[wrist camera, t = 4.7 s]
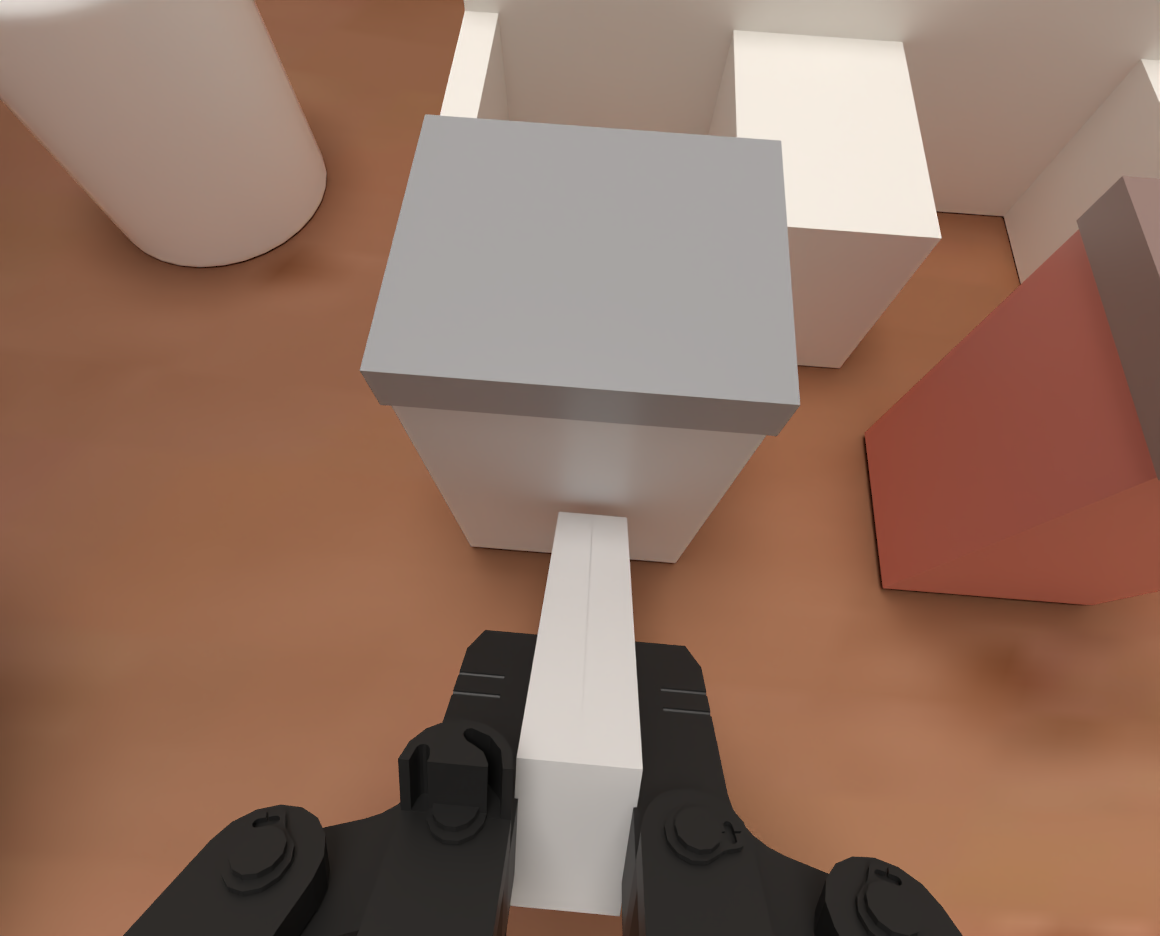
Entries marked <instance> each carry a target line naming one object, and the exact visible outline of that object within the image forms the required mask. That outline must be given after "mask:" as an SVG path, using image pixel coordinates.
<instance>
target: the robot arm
mask: <svg viewBox="0 0 1160 936" xmlns="http://www.w3.org/2000/svg"><path fill="white" fill-rule="evenodd" d="M398 765H399V783H400V803H399V804H398V805H396V806H394V807H393V808H391V809H389V810H387V811H385V812H383V813H381V814H378V815H375V816H372V817H369V818H366V819H362V820H357V821H353V822H348V823H343V824H339V825H334V826H329V827H325V828H322V826H321V824H320V822H319V819H318V818H317V817H316V816H314V815H313V814H311V813H310V812H308V811H307V810H305V809H304V808H302V807H295V806H287V805H277V806H272V807H267V808H262V809H257V810H255V811H253V812H251V813H249V814H247V815H245V816H243V817H241V818H239V819H237V820H235V821H233V822H232V823H230V824H229V825H228V826H227V827H226V828H224V829H223V830H222V831H221V832H220V833H219V834H217V835H216V836H215V837H214V838H213V839H212V840H210V841H209V843H208V844H207V845H206V846H205V847H204V848H203V849H202V850H201V851H200V852H199V853H198V855H197V856H196V857H195V858H194V859H193V860H192V861H191V862H190V863H189V864H188V865H187V867H186V868H185V869H184V870H183V871H182V872H181V873H180V874H179V875H178V876H177V877H176V878H175V880H174V881H173V882H172V883H171V884H170V885H169V886H168V887H167V888H166V889H165V890H164V892H163V893H162V894H161V895H160V896H159V897H158V898H157V899H156V900H155V901H154V902H153V904H152V905H151V906H150V907H149V908H148V909H147V910H146V911H145V912H144V913H143V914H142V916H141V917H140V918H139V919H138V920H137V921H136V922H135V923H134V924H133V925H132V926H131V928H130V929H129V930H128V931H127V932H126V933H125V934H124V935H123V936H506V929H507V922H508V915H509V908H510V906H518V907H529V908H539V909H550V910H560V911H571V912H581V913H591V914H602V915H612V916H620V911H621V905H622V929H623V936H962V934H961V933H960V931H959V930H958V929H957V927H956V926H955V924H954V923H953V921H952V920H951V919H950V917H949V916H948V914H947V913H946V912H945V910H944V909H943V907H942V906H941V905H940V904H939V903H938V902H937V900H936V899H935V898H934V897H933V896H932V895H931V894H930V893H929V891H928V890H927V889H926V888H925V887H924V886H923V885H922V884H921V883H920V882H918V881H917V880H915V879H914V878H913V877H911V876H910V875H908V874H907V873H906V872H904V871H903V870H901V869H900V868H899V867H896V866H894V865H891V864H889V863H886V862H884V861H881V860H879V859H876V858H869V857H850V858H848V859H846V860H843V861H841V862H839V863H836V864H835V866H834V867H833V869H832V870H831V872H830V874H828V873H825V872H823V871H820V870H818V869H815V868H813V867H810V866H808V865H806V864H803V863H801V862H798V861H796V860H793V859H791V858H788V857H786V856H784V855H782V854H780V853H778V852H776V851H774V850H773V849H771V848H769V847H767V846H766V845H765V844H763V843H762V842H761V841H760V840H758V839H757V838H756V837H754V836H753V835H752V834H751V833H750V832H749V830H748V829H747V828H746V827H745V825H744V822H743V821H742V820H741V819H740V818H739V817H738V815H737V814H736V813H735V812H734V810H733V808H732V806H731V803H730V800H729V797H728V794H727V789H726V784H725V779H724V775H723V770H722V765H721V760H720V756H719V751H718V746H717V741H716V736H715V732H714V727H713V722H712V717H711V716H710V708H709V703H708V698H707V696H706V689H705V684H704V679H703V674H702V669H701V667H700V665H699V664H698V663H697V661H696V660H695V659H694V657H693V656H692V655H691V653H690V652H689V651H688V649H687V648H686V647H685V646H678V645H667V644H656V643H645V642H635V638H634V622H633V606H632V590H631V574H630V558H629V543H628V527H627V518H626V517H614V516H603V515H592V514H580V513H569V512H559V514H558V520H557V526H556V531H555V537H554V543H553V549H552V555H551V560H550V566H549V572H548V578H547V584H546V590H545V595H544V601H543V607H542V613H541V619H540V624H539V630H538V635H534V634H523V633H512V632H501V631H490V630H485V631H484V632H483V633H482V634H481V635H480V636H479V637H478V638H477V639H476V640H475V641H474V642H473V643H472V644H471V645H470V646H469V647H468V648H467V651H466V654H465V657H464V660H463V663H462V666H461V669H460V674H459V675H458V678H457V681H456V684H455V687H454V690H453V695H452V696H451V699H450V702H449V705H448V708H447V711H446V714H445V717H444V720H443V723H440V724H437V725H435V726H432V727H429V728H426V729H425V730H424V731H423V732H421V733H420V734H419V735H417V736H416V737H415V738H413V739H412V740H411V741H409V743H408V744H407V746H406V748H405V749H404V751H403V752H402V754H401V755H400V757H399V758H398Z"/></svg>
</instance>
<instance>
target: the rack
mask: <svg viewBox="0 0 1160 936" xmlns="http://www.w3.org/2000/svg"><path fill="white" fill-rule="evenodd" d="M464 6H465V14H464V18H463V22H462V26H461V30H460V34H459V39H458V43H457V47H456V51H455V55H454V59H453V63H452V68H451V72H450V76H449V80H448V84H447V88H446V92H445V97H444V101H443V105H442V109H441V113H440V116H452V117H466V118H480V119H493V120H507V121H520V122H534V123H548V124H561V125H575V126H589V127H602V128H616V129H630V130H643V131H657V132H670V133H684V134H698V135H711V136H725V137H739V138H752V139H766V140H780V141H781V145H782V159H783V173H784V187H785V201H786V215H787V229H788V243H789V257H790V271H791V285H792V298H793V312H794V326H795V340H796V354H797V365H804V366H816V367H829V368H840V367H841V366H842V365H843V363H844V362H845V361H846V359H847V358H848V357H849V356H850V354H851V353H852V352H853V350H854V349H855V348H856V347H857V345H858V344H859V343H860V342H861V340H862V339H863V338H864V336H865V335H866V334H867V333H868V331H869V330H870V329H871V328H872V326H873V325H874V324H875V322H876V321H877V320H878V319H879V317H880V316H881V315H882V314H883V312H884V311H885V310H886V308H887V307H888V306H889V305H890V303H891V302H892V301H893V299H894V298H895V297H896V296H897V294H898V293H899V292H900V291H901V289H902V288H903V287H904V285H905V284H906V283H907V282H908V280H909V279H910V278H911V277H912V275H913V274H914V273H915V271H916V270H917V269H918V268H919V266H920V265H921V264H922V262H923V261H924V260H925V259H926V257H927V256H928V255H929V254H930V252H931V251H932V250H933V248H934V247H935V246H936V245H937V243H938V242H939V241H940V240H941V233H940V228H939V223H938V218H937V213H936V211H939V212H952V213H966V214H979V215H993V216H1004V220H1005V224H1006V228H1007V232H1008V235H1009V239H1010V243H1011V247H1012V251H1013V255H1014V259H1015V263H1016V267H1017V271H1018V275H1019V279H1020V283H1021V284H1022V283H1023V282H1024V281H1025V280H1026V279H1027V278H1028V277H1029V276H1030V275H1031V274H1032V273H1033V272H1034V271H1035V270H1036V269H1037V268H1039V267H1040V266H1041V265H1042V264H1043V263H1044V262H1045V261H1046V260H1047V259H1048V258H1049V257H1050V256H1051V255H1052V254H1053V253H1054V252H1055V251H1056V250H1057V249H1059V248H1060V247H1061V246H1062V245H1063V244H1064V243H1065V242H1066V241H1067V240H1068V239H1069V238H1070V237H1071V236H1072V235H1073V234H1074V233H1075V232H1076V231H1077V230H1078V229H1079V228H1078V224H1077V221H1076V220H1077V219H1079V218H1080V217H1081V216H1082V215H1083V214H1084V213H1085V212H1086V211H1087V210H1088V209H1089V208H1090V207H1091V206H1092V205H1093V204H1094V203H1095V202H1096V201H1097V200H1098V199H1099V198H1100V197H1101V196H1102V195H1103V194H1104V193H1105V192H1106V191H1107V190H1108V189H1109V188H1110V187H1111V186H1112V185H1113V184H1115V183H1116V182H1117V181H1118V180H1119V179H1120V178H1121V177H1122V176H1132V177H1146V178H1159V179H1160V0H464Z"/></svg>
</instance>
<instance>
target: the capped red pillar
mask: <svg viewBox="0 0 1160 936" xmlns="http://www.w3.org/2000/svg"><path fill="white" fill-rule="evenodd" d="M1076 221H1077V224H1078V228H1079V229H1078V230H1077V231H1076V232H1075V233H1074V234H1073V235H1072V236H1071V237H1070V238H1069V239H1068V240H1067V241H1066V242H1065V243H1064V244H1063V245H1062V246H1061V247H1060V248H1059V249H1057V250H1056V251H1055V252H1054V253H1053V254H1052V255H1051V256H1050V257H1049V258H1048V259H1047V260H1046V261H1045V262H1044V263H1043V264H1042V265H1041V266H1040V267H1039V268H1037V269H1036V270H1035V271H1034V272H1033V273H1032V274H1031V275H1030V276H1029V277H1028V278H1027V279H1026V280H1025V281H1024V282H1023V283H1022V284H1021V285H1020V286H1019V287H1017V288H1016V289H1015V290H1014V291H1013V292H1012V293H1011V294H1010V295H1009V296H1008V297H1007V298H1006V299H1005V300H1004V301H1003V302H1002V303H1001V304H1000V305H999V306H998V307H996V308H995V309H994V310H993V311H992V312H991V313H990V314H989V315H988V316H987V317H986V318H985V319H984V320H983V321H982V322H981V323H980V324H979V325H978V326H976V327H975V328H974V329H973V330H972V331H971V332H970V333H969V334H968V335H967V336H966V337H965V338H964V339H963V340H962V341H961V342H960V343H959V344H958V345H957V346H955V347H954V348H953V349H952V350H951V351H950V352H949V353H948V354H947V355H946V356H945V357H944V358H943V359H942V360H941V361H940V362H939V363H938V364H937V365H935V366H934V367H933V368H932V369H931V370H930V371H929V372H928V373H927V374H926V375H925V376H924V377H923V378H922V379H921V380H920V381H919V382H918V383H917V384H916V385H914V386H913V387H912V388H911V389H910V390H909V391H908V392H907V393H906V394H905V395H904V396H903V397H902V398H901V399H900V400H899V401H898V402H897V403H896V404H894V405H893V406H892V407H891V408H890V409H889V410H888V411H887V412H886V413H885V414H884V415H883V416H882V417H881V418H880V419H879V420H878V421H877V422H876V423H874V424H873V425H872V426H871V427H870V428H869V429H868V430H867V431H866V432H865V440H866V449H867V457H868V466H869V474H870V483H871V492H872V500H873V509H874V517H875V526H876V535H877V543H878V552H879V560H880V569H881V578H882V586H883V588H887V589H899V590H911V591H923V592H936V593H948V594H960V595H972V596H985V597H997V598H1009V599H1021V600H1034V601H1046V602H1058V603H1070V604H1083V605H1095V604H1100V603H1105V602H1109V601H1114V600H1119V599H1124V598H1128V597H1133V596H1138V595H1143V594H1147V593H1152V592H1157V591H1160V179H1159V178H1146V177H1132V176H1122V177H1121V178H1120V179H1119V180H1118V181H1117V182H1116V183H1115V184H1113V185H1112V186H1111V187H1110V188H1109V189H1108V190H1107V191H1106V192H1105V193H1104V194H1103V195H1102V196H1101V197H1100V198H1099V199H1098V200H1097V201H1096V202H1095V203H1094V204H1093V205H1092V206H1091V207H1090V208H1089V209H1088V210H1087V211H1086V212H1085V213H1084V214H1083V215H1082V216H1081V217H1080V218H1079V219H1077V220H1076Z"/></svg>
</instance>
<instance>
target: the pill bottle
mask: <svg viewBox="0 0 1160 936" xmlns="http://www.w3.org/2000/svg"><path fill="white" fill-rule="evenodd" d="M0 100H1V101H2V102H3V103H4V104H5V105H6V106H7V107H8V108H9V109H10V111H11V112H12V113H13V114H14V115H15V116H16V117H17V118H18V119H19V120H20V121H21V123H22V124H23V125H24V126H25V127H26V128H27V129H28V130H29V131H30V132H31V133H32V134H33V136H34V137H35V138H36V139H37V140H38V141H39V142H40V143H41V144H42V145H43V146H44V148H45V149H46V150H47V151H48V152H49V153H50V154H51V155H52V156H53V157H54V158H55V160H56V161H57V162H58V163H59V164H60V165H61V166H62V167H63V168H64V169H65V170H66V171H67V173H68V174H69V175H70V176H71V177H72V178H73V179H74V180H75V181H76V182H77V183H78V185H79V186H80V187H81V188H82V189H83V190H84V191H85V192H86V193H87V194H88V195H89V197H90V198H91V199H92V200H93V201H94V202H95V203H96V204H97V205H98V206H99V207H100V209H101V210H102V211H103V212H104V213H105V214H106V215H107V216H108V217H109V218H110V219H111V220H112V222H113V223H114V224H115V225H116V226H117V227H118V228H119V229H120V230H121V231H122V232H123V234H124V235H125V236H126V237H127V238H128V239H129V240H130V241H131V242H132V243H133V244H134V245H136V246H137V247H138V248H139V249H141V250H142V251H143V252H144V253H146V254H148V255H150V256H152V257H155V258H157V259H159V260H161V261H164V262H168V263H172V264H176V265H180V266H192V267H211V266H223V265H228V264H232V263H237V262H241V261H245V260H248V259H251V258H253V257H256V256H259V255H261V254H264V253H266V252H268V251H270V250H272V249H273V248H275V247H277V246H279V245H281V244H282V243H284V242H285V241H287V240H288V239H289V238H290V237H292V236H293V235H294V234H296V233H297V232H298V231H299V230H300V229H301V228H302V227H303V226H304V225H305V224H306V223H307V222H308V221H309V219H310V218H311V217H312V216H313V214H314V213H315V211H316V209H317V208H318V206H319V204H320V203H321V200H322V197H323V194H324V191H325V188H326V176H327V172H326V167H325V163H324V159H323V156H322V154H321V152H320V149H319V147H318V145H317V142H316V140H315V138H314V136H313V133H312V131H311V129H310V126H309V124H308V122H307V120H306V117H305V115H304V113H303V110H302V108H301V106H300V104H299V101H298V99H297V97H296V94H295V92H294V90H293V88H292V85H291V83H290V81H289V78H288V76H287V74H286V72H285V69H284V67H283V65H282V62H281V60H280V58H279V55H278V53H277V51H276V49H275V46H274V44H273V42H272V39H271V37H270V35H269V33H268V30H267V28H266V26H265V23H264V21H263V19H262V17H261V14H260V12H259V10H258V7H257V5H256V3H255V1H254V0H0Z"/></svg>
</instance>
